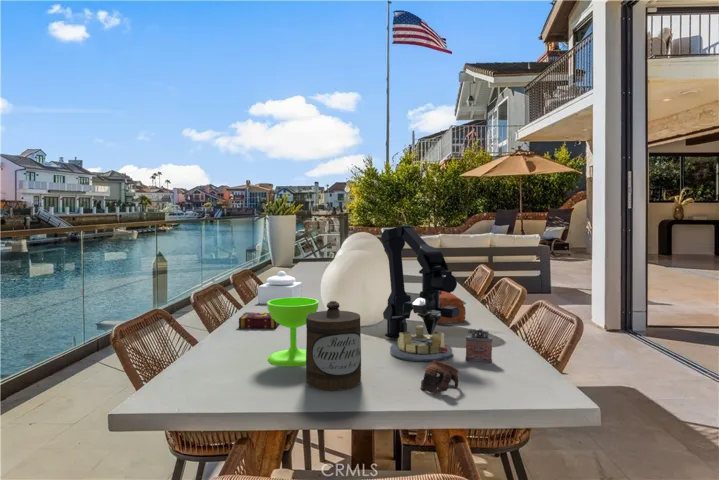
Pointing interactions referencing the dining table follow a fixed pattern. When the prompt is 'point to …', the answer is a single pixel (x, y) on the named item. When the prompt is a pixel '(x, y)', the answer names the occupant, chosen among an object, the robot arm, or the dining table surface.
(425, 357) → the grey round tray
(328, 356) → the wooden container
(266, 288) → the white lidded box
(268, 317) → the decorative book
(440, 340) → the tan segmented ring
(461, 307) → the bread
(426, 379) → the brown leather rounded piece
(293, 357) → the wineglass
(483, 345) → the lighter
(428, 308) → the robot arm
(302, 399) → the dining table surface
